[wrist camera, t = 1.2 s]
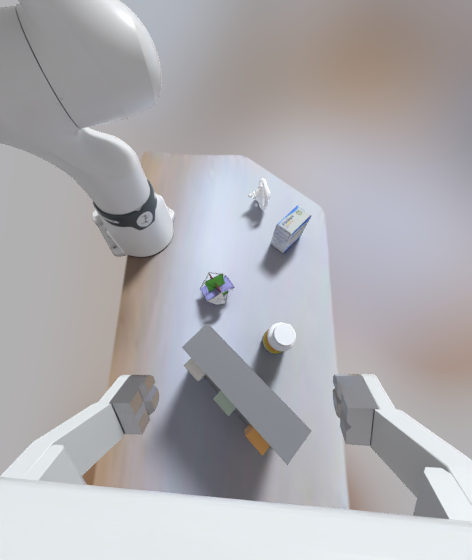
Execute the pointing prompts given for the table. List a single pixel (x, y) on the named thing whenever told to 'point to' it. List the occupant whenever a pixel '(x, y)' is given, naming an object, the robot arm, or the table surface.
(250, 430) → the button orange
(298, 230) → the medicine box
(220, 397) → the button sage
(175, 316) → the table surface
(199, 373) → the button offwhite
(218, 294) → the geometric puzzle
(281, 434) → the button panel
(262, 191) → the white irregular piece
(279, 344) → the supplement bottle
